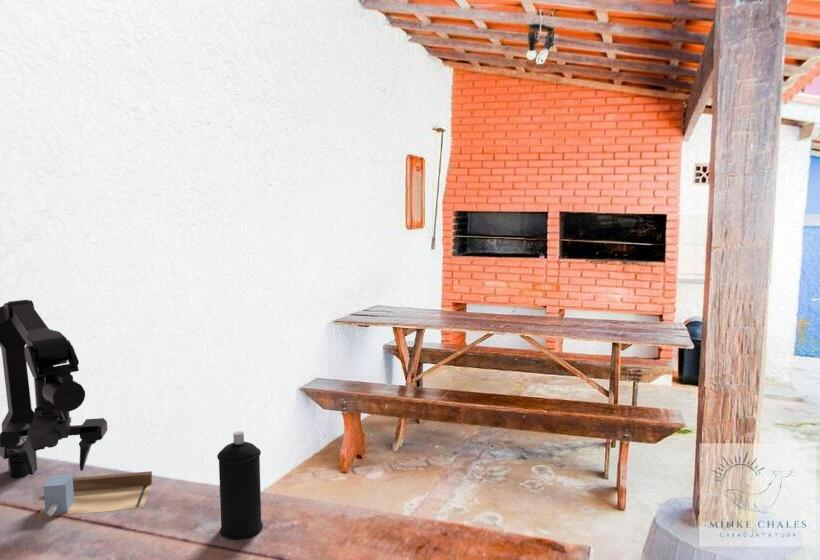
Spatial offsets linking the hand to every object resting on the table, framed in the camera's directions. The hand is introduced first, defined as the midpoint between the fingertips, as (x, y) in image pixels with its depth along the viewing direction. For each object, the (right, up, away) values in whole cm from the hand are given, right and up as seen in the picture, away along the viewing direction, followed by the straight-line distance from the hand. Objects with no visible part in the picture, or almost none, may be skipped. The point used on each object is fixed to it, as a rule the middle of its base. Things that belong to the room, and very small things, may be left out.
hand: (57, 472), depth 132 cm
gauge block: (0, -8, -1) cm, 8 cm away
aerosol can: (+39, -10, -4) cm, 40 cm away
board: (+6, -9, +5) cm, 12 cm away
